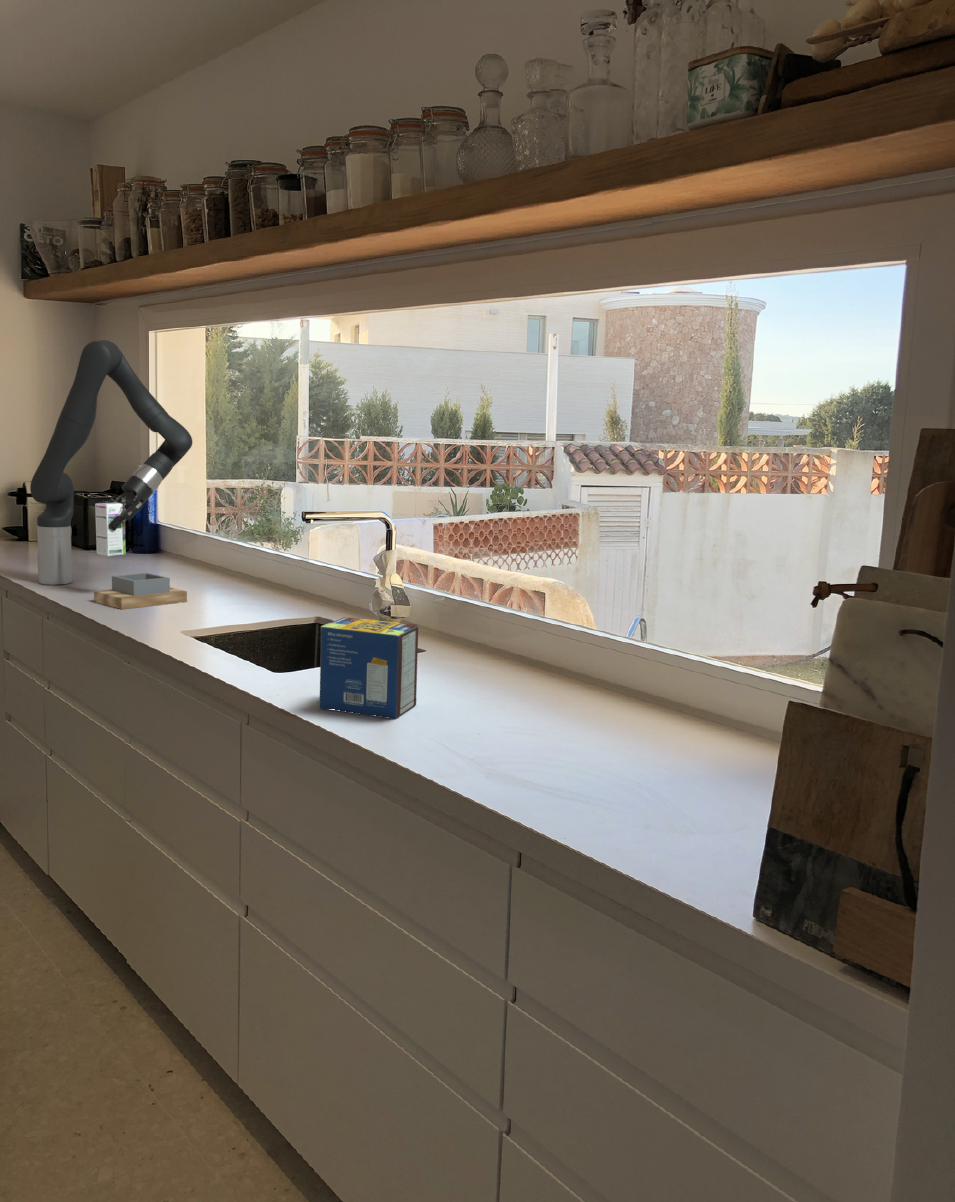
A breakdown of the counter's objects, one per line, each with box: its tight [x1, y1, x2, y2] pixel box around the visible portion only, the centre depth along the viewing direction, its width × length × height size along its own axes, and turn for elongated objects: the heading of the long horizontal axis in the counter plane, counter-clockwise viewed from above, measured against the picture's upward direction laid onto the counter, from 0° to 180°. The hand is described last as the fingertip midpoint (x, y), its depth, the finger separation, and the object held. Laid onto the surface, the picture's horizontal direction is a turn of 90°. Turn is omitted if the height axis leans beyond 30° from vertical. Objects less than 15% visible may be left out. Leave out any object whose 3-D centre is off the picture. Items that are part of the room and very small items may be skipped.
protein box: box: [318, 616, 419, 720], centre depth 184 cm, size 10×15×16 cm
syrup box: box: [94, 502, 127, 557], centre depth 281 cm, size 6×6×14 cm
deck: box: [93, 587, 188, 610], centre depth 278 cm, size 14×20×3 cm
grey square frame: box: [111, 572, 171, 596], centre depth 277 cm, size 11×11×4 cm
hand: (104, 527), depth 279 cm, fingers closed on syrup box, 6 cm apart
